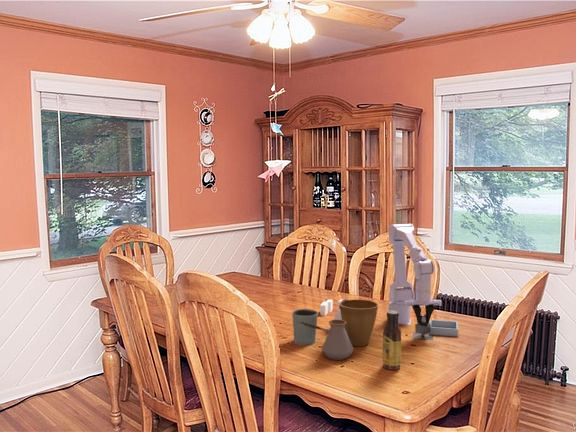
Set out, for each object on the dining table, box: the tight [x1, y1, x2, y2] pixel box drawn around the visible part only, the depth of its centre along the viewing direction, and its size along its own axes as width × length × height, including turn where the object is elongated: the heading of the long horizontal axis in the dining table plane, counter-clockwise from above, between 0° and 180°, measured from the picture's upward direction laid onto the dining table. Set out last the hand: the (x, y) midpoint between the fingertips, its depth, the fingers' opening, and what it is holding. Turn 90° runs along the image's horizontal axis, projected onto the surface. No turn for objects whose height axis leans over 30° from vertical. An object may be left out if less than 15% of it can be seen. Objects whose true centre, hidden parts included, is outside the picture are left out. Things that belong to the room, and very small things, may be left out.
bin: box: [428, 319, 459, 337], centre depth 219 cm, size 11×11×4 cm
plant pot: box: [340, 299, 379, 347], centre depth 207 cm, size 15×15×16 cm
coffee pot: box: [298, 319, 354, 361], centre depth 191 cm, size 21×12×15 cm, turn 114°
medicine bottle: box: [334, 298, 348, 320], centre depth 228 cm, size 7×7×12 cm
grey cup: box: [291, 308, 319, 346], centre depth 210 cm, size 10×10×12 cm
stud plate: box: [411, 332, 434, 341], centre depth 213 cm, size 8×8×3 cm
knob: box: [414, 313, 431, 335], centre depth 213 cm, size 5×5×7 cm
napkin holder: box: [319, 299, 334, 317], centre depth 252 cm, size 15×11×6 cm
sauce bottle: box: [382, 310, 402, 371], centre depth 181 cm, size 7×6×20 cm
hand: (422, 323), depth 213 cm, fingers closed on knob, 3 cm apart
